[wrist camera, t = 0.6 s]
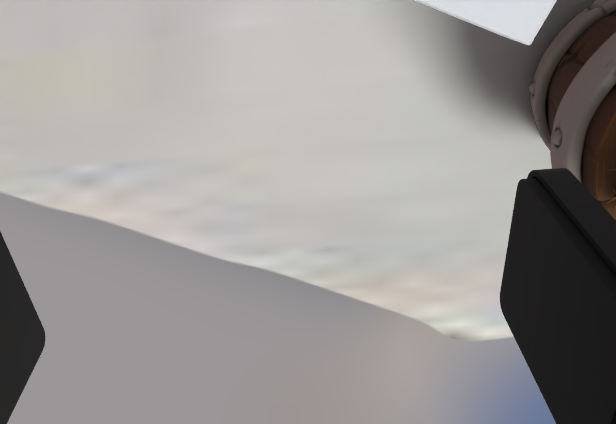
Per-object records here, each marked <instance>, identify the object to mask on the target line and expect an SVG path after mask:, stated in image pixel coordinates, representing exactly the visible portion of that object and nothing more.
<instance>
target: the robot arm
mask: <svg viewBox="0 0 616 424" xmlns="http://www.w3.org/2000/svg"><path fill="white" fill-rule="evenodd" d="M500 304H501V309H502V312H503V315H504V317H505V319H506V321H507V323H508V325H509V327H510V329H511V331H512V333H513V335H514V337H515V340H516V342H517V344H518V346H519V348H520V350H521V352H522V354H523V356H524V358H525V360H526V362H527V364H528V366H529V368H530V370H531V372H532V374H533V376H534V379H535V381H536V383H537V385H538V387H539V388H540V391H541V393H542V395H543V397H544V399H545V401H546V403H547V405H548V407H549V409H550V411H551V413H552V415H553V418H554V419H555V422H556V424H616V220H615V219H614V218H613V217H612V216H611V215H610V213H609V212H608V211H607V210H606V209H605V208H604V207H603V206H602V205H601V204H600V203H599V202H598V201H597V199H596V198H595V197H594V196H593V195H592V194H591V193H590V192H589V191H588V190H587V189H586V188H585V187H584V185H583V184H582V183H581V182H580V181H579V180H578V179H577V178H576V177H575V176H574V175H573V174H572V173H571V171H570V170H568V169H567V168H556V169H543V170H533V171H531V172H530V173H529V175H528V177H527V179H521V180H520V181H519V183H518V186H517V191H516V198H515V204H514V210H513V216H512V223H511V229H510V235H509V241H508V248H507V254H506V260H505V266H504V272H503V279H502V285H501V291H500ZM44 344H45V332H44V328H43V326H42V324H41V321H40V319H39V317H38V315H37V313H36V310H35V308H34V306H33V304H32V301H31V299H30V297H29V295H28V292H27V290H26V288H25V286H24V283H23V281H22V279H21V277H20V275H19V272H18V270H17V268H16V266H15V263H14V261H13V259H12V257H11V255H10V252H9V250H8V248H7V245H6V243H5V241H4V239H3V237H2V234H1V232H0V424H7V422H8V420H9V418H10V416H11V414H12V412H13V410H14V408H15V406H16V404H17V401H18V399H19V397H20V395H21V393H22V391H23V389H24V387H25V385H26V383H27V381H28V379H29V377H30V375H31V373H32V371H33V369H34V367H35V365H36V363H37V361H38V359H39V357H40V355H41V353H42V351H43V348H44Z"/></svg>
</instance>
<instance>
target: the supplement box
mask: <svg viewBox="0 0 616 424" xmlns="http://www.w3.org/2000/svg"><path fill="white" fill-rule="evenodd" d="M414 1H416V2H419V3H421V4H424V5H426V6H429V7H431V8H433V9H436V10H438V11H441V12H443V13H445V14H448V15H450V16H453V17H456V18H458V19H461V20H463V21H466V22H468V23H471V24H473V25H476V26H478V27H481V28H483V29H486V30H488V31H491V32H493V33H496V34H498V35H501V36H503V37H506V38H509V39H511V40H514V41H517V42H520V43H522V44H525V45H531V43H532V42H533V40H534V38H535V36H536V35H537V33H538V31H539V30H540V28H541V26H542V24H543V23H544V21H545V19H546V18H547V16H548V14H549V13H550V11H551V9H552V7H553V6H554V4H555V2H556V1H557V0H414Z"/></svg>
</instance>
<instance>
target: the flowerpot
mask: <svg viewBox="0 0 616 424" xmlns="http://www.w3.org/2000/svg"><path fill="white" fill-rule="evenodd" d="M529 91H530V93H531V105H532V111H533V115H534V119H535V122H536V126H537V128H538V131H539V134H540V136H541V138H542V139H543V141H544V143H545V144H546V146H547V147H548V148H549V150H550V151H551V164H552V169H556V168H567V169H568V170H570V171H571V173H572V174H573V175H574V176H575V177H576V178H577V179H578V180H579V181H580V182H581V183H582V184H583V185H584V187H585V188H586V189H587V190H588V191H589V192H590V193H591V194H592V195H593V196H594V197H595V198H596V199H597V201H598V202H599V203H600V204H601V205H602V206H603V207H604V208H605V209H606V210H607V211H608V212H609V213H610V215H611V216H612V217H613V218H614V219H615V220H616V0H595V1H594V2H593V3H592V4H591V6H589V7H588V8H586V9H584V10H583V11H582V12H580V13H579V14H578V15H576V16H575V17H574V18H573V19H572V20H571V21H570V22H569V23H568V24H567V25H566V26H565V27H564V28H563V29H562V30H561V31H560V32H559V33H558V34H557V36H556V37H555V38H554V39H553V41H552V42H551V44H550V45H549V47H548V48H547V50H546V51H545V53H544V55H543V56H542V58H541V60H540V62H539V64H538V67H537V69H536V72H535V75H534V79H533V83H532V84H531V85H530V86H529Z"/></svg>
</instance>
